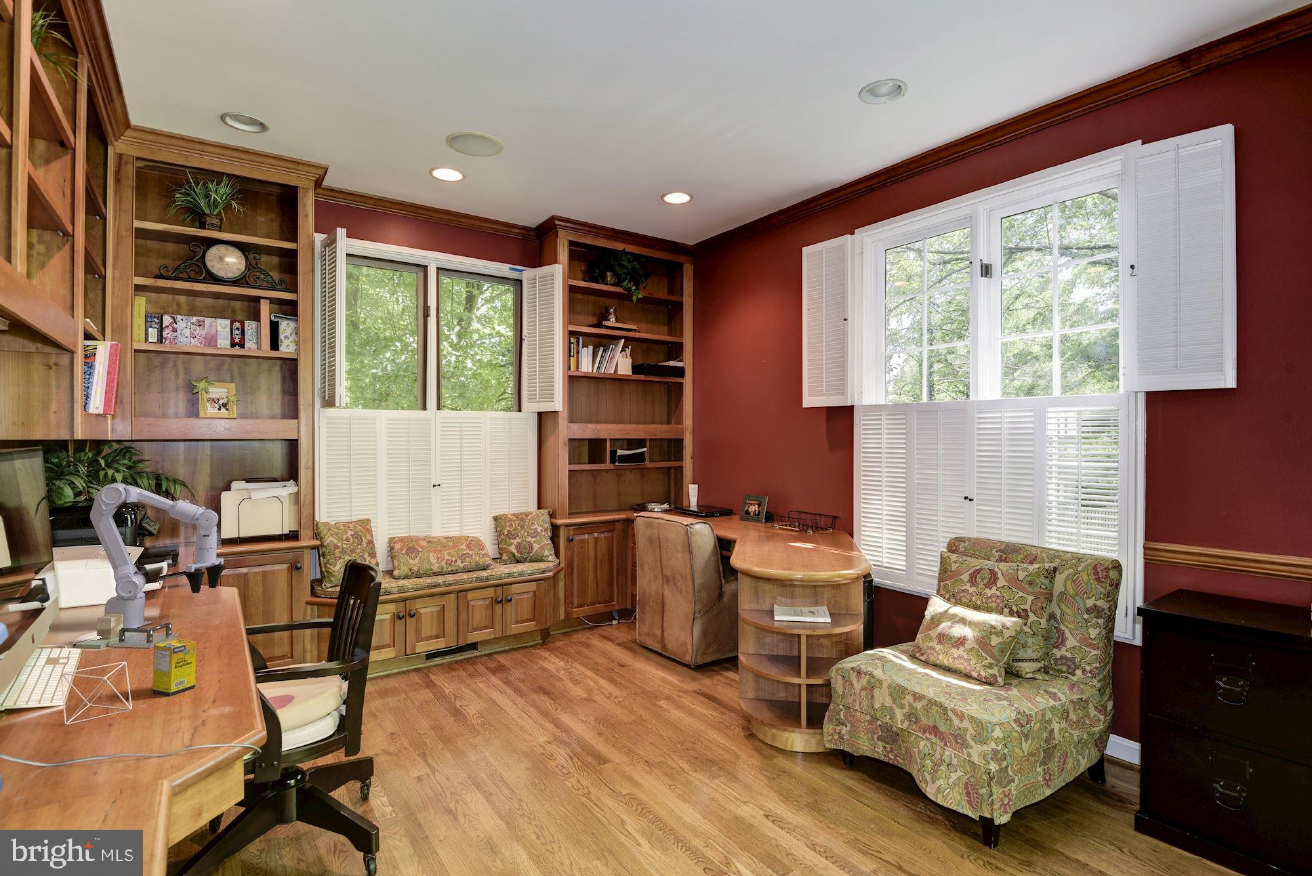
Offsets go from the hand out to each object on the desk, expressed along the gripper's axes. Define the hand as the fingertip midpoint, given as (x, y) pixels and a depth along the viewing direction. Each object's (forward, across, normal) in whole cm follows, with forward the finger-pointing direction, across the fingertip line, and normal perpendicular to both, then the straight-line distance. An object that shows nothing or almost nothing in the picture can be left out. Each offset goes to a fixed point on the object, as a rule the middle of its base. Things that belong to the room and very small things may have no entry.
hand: (204, 590), depth 215 cm
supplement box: (+10, -59, -36) cm, 70 cm away
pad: (+9, -25, +9) cm, 28 cm away
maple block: (+8, -25, +9) cm, 28 cm away
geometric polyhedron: (+10, -73, -30) cm, 80 cm away
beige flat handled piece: (+9, -24, -1) cm, 26 cm away
